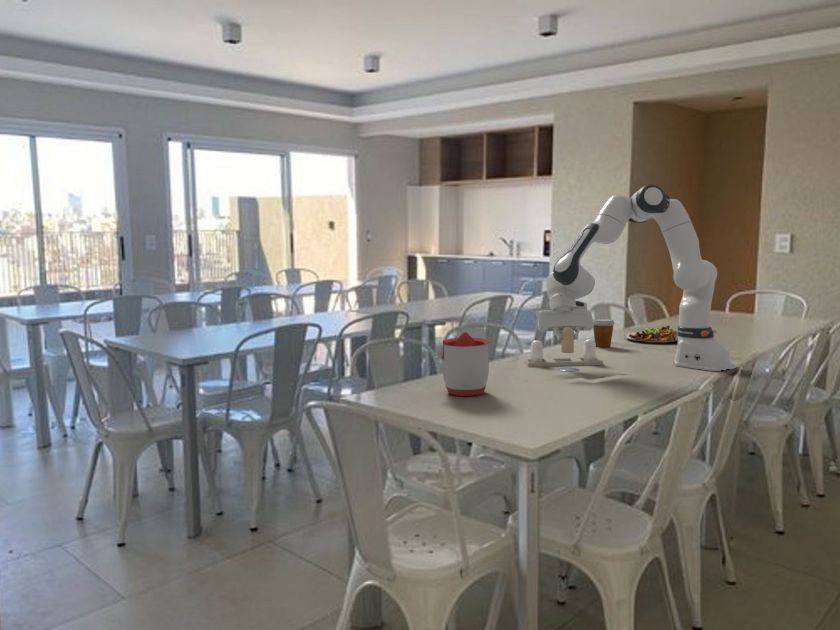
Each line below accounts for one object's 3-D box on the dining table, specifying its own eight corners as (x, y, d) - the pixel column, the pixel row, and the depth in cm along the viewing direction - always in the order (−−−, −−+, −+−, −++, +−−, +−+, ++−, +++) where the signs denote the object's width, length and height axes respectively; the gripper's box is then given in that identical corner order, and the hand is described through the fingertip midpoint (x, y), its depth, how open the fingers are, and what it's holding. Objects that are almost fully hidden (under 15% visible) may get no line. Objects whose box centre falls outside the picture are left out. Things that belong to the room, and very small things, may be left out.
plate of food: (661, 333, 339) (661, 321, 338) (702, 341, 313) (702, 328, 312) (612, 339, 330) (612, 327, 329) (650, 348, 304) (650, 334, 303)
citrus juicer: (436, 387, 236) (435, 328, 233) (488, 386, 235) (487, 328, 233) (436, 399, 220) (435, 336, 218) (491, 398, 220) (491, 335, 217)
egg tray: (598, 363, 270) (598, 357, 269) (604, 367, 262) (604, 361, 261) (523, 365, 269) (523, 359, 268) (526, 369, 261) (526, 363, 260)
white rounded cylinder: (597, 363, 265) (598, 339, 263) (589, 364, 262) (589, 340, 261) (589, 361, 268) (589, 337, 267) (580, 362, 266) (581, 338, 265)
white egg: (545, 364, 264) (545, 340, 263) (536, 366, 262) (536, 341, 261) (537, 362, 268) (537, 338, 267) (528, 364, 265) (528, 340, 264)
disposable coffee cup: (596, 344, 312) (596, 317, 310) (617, 346, 306) (617, 318, 305) (588, 347, 304) (588, 320, 303) (609, 349, 299) (609, 321, 297)
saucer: (584, 373, 253) (584, 369, 253) (567, 376, 249) (567, 372, 249) (568, 369, 260) (568, 366, 260) (552, 372, 256) (552, 369, 256)
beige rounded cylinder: (576, 352, 253) (576, 327, 252) (567, 353, 251) (567, 328, 250) (567, 350, 257) (568, 325, 256) (558, 351, 254) (559, 326, 253)
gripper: (535, 303, 258) (540, 334, 250) (590, 303, 259) (597, 333, 250) (533, 314, 263) (538, 344, 255) (587, 313, 264) (594, 343, 255)
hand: (568, 339), depth 252 cm, fingers closed on beige rounded cylinder, 4 cm apart
